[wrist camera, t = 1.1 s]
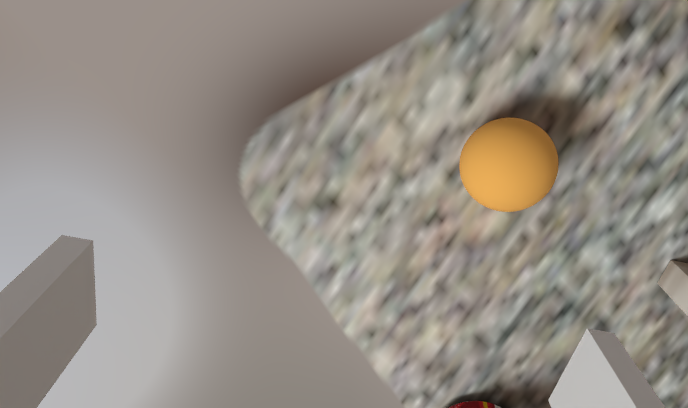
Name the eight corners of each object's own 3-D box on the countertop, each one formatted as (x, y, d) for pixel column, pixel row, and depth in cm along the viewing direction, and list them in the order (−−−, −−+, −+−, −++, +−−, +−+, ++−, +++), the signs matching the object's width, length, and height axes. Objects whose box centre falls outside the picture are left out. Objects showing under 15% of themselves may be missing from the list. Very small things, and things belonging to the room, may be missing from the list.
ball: (554, 116, 30) (590, 146, 25) (522, 195, 32) (550, 236, 27) (467, 98, 30) (487, 124, 25) (442, 179, 32) (456, 218, 27)
